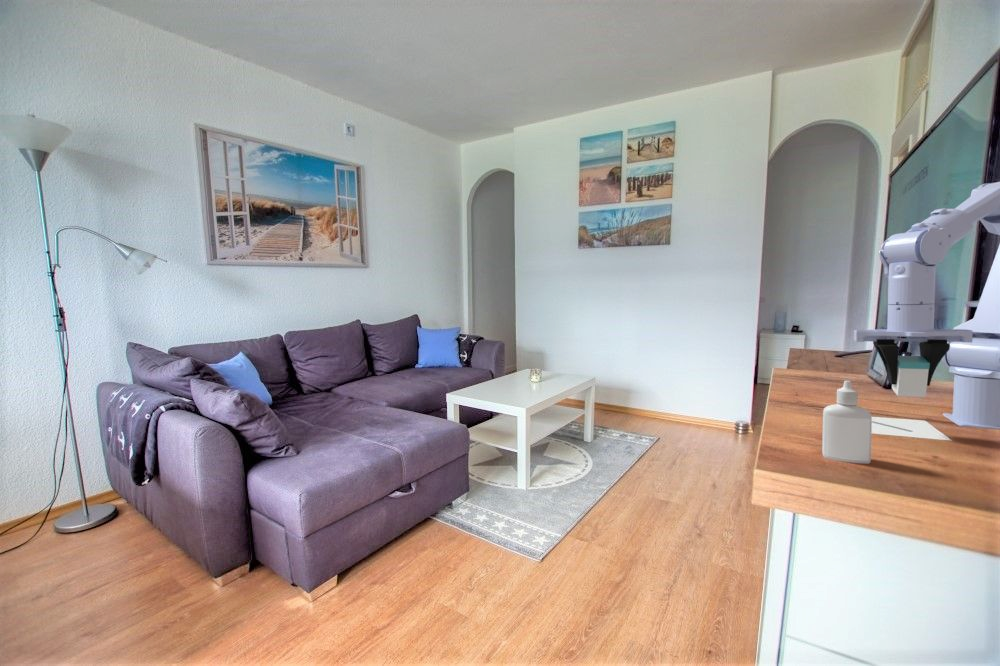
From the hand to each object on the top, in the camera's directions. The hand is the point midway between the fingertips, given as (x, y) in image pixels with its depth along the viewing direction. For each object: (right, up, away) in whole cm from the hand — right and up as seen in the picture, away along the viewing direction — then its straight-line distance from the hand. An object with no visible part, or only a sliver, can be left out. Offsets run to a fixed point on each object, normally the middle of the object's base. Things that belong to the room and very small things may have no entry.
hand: (908, 384), depth 74 cm
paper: (+1, -8, +4) cm, 10 cm away
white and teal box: (0, -2, 0) cm, 2 cm away
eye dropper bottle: (-18, -11, -9) cm, 23 cm away
